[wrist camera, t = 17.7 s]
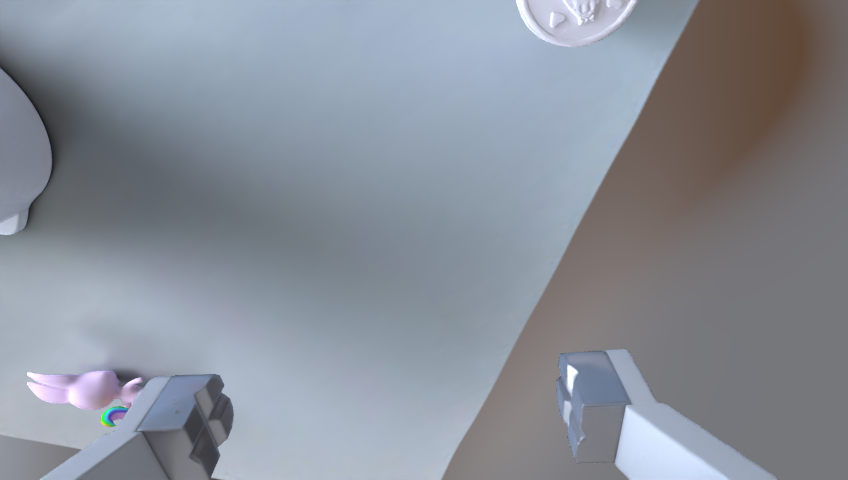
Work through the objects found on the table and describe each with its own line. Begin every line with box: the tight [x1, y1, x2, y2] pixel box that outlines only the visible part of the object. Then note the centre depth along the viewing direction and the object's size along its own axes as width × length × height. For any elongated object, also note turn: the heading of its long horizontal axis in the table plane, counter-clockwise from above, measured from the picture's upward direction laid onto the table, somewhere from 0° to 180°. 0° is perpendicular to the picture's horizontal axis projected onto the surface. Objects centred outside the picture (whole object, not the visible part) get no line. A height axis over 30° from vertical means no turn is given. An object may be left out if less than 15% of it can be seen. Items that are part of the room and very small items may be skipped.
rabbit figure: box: [27, 370, 143, 427], centre depth 48 cm, size 6×6×15 cm
